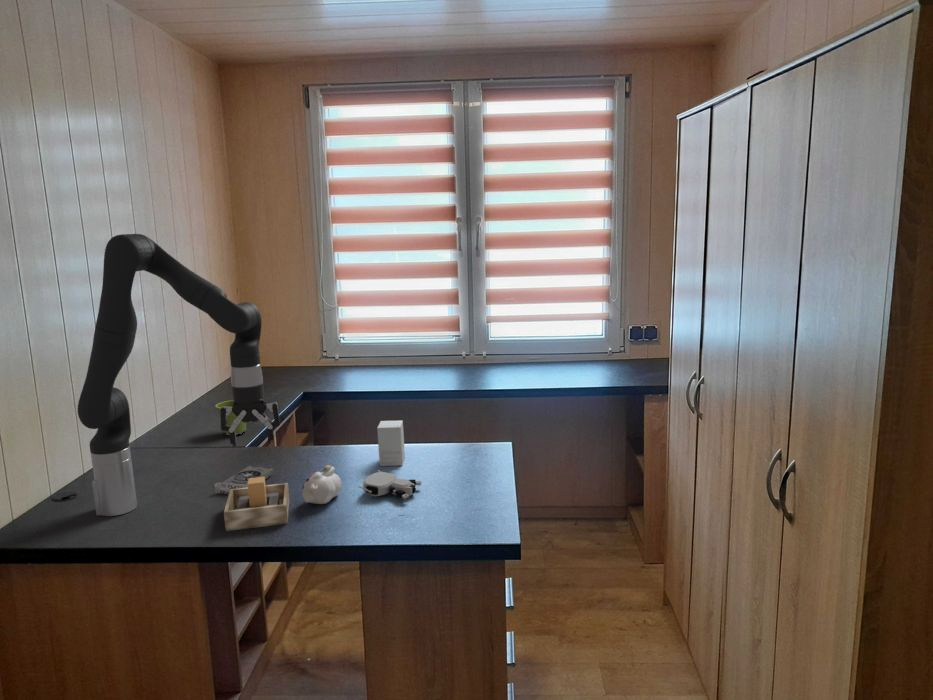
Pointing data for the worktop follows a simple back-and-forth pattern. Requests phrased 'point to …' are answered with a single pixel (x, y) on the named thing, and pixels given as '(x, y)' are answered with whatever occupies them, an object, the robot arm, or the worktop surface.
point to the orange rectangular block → (257, 492)
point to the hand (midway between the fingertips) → (252, 443)
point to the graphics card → (242, 479)
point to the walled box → (257, 508)
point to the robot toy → (388, 485)
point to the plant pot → (231, 416)
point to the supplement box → (391, 443)
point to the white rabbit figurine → (322, 486)
